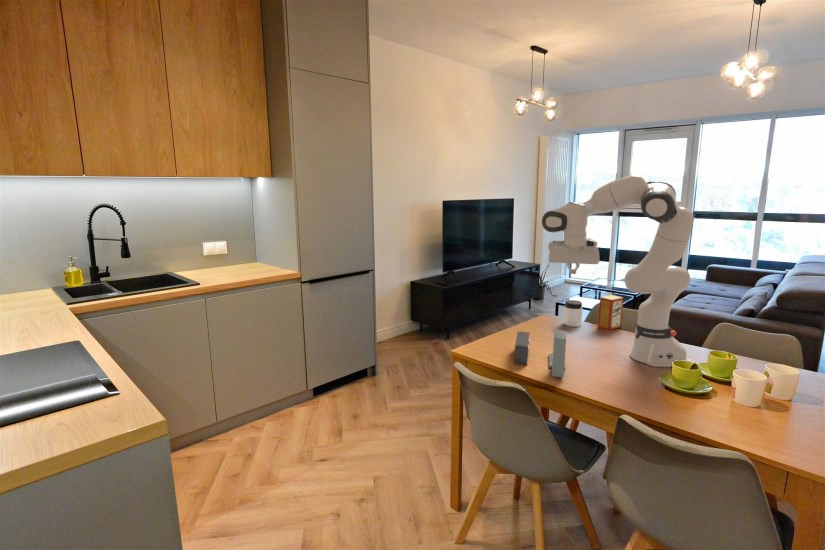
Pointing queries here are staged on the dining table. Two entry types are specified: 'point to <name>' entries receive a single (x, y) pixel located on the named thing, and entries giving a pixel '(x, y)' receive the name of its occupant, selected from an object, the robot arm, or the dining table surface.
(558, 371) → the block
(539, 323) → the dining table surface
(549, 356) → the rail
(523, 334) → the block
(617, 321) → the baking soda box
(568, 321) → the jar
